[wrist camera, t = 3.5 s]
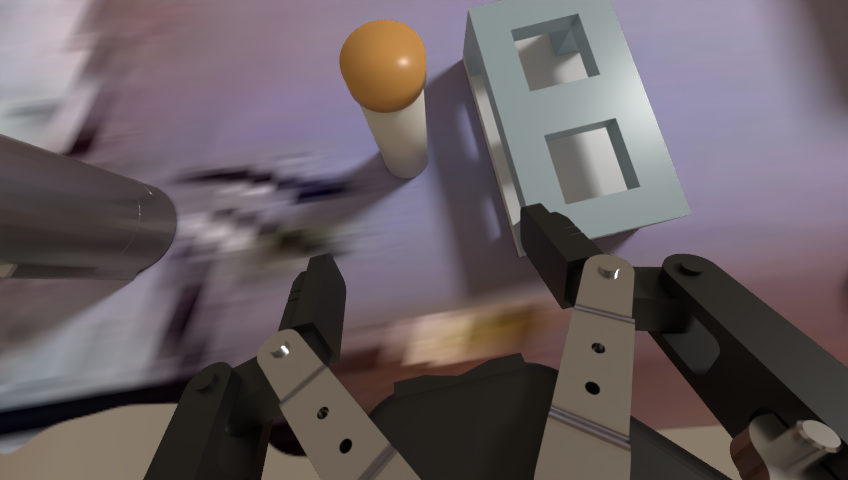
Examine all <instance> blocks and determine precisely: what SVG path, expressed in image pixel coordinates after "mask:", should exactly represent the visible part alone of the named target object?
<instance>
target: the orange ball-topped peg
mask: <svg viewBox="0 0 848 480" xmlns="http://www.w3.org/2000/svg"><path fill="white" fill-rule="evenodd" d="M340 69H341V73H342V75H343V78H344V80H345V82H346V84H347V86H348V89H349V91H350V93H351V95H352V96H353V98H354V99H355V100H356V101H357V102H358V103H359V104H360V106H361V108H362V111H363V113H364V115H365V118H366V120H367V122H368V125H369V127H370V129H371V132H372V134H373V136H374V139H375V141H376V143H377V146H378V148H379V150H380V152H381V155H382V157H383V159H384V162H385V164H386V166H387V168H388V170H389V171H390V172H391V173H392V174H393V175H394V176H396V177H399V178H403V179H409V178H413V177H416V176H418V175H419V174H421V173H422V172H423V170H424V169H425V168H426V166H427V163H428V145H427V131H426V117H425V102H424V86H425V83H426V54H425V48H424V45H423V43H422V40H421V39H420V37H419V36H418V35H417V33H416V32H415V31H414V30H412V29H411V28H410V27H408V26H407V25H405V24H403V23H400V22H397V21H392V20H377V21H373V22H369V23H367V24H364V25H362V26H361V27H359V28H358V29H356V30H355V31H354V32H353V33H351V35H350V36H349V37H348V38H347V40H346V41H345V43H344V45H343V47H342V50H341V53H340Z"/></svg>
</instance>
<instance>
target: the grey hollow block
mask: <svg viewBox="0 0 848 480" xmlns="http://www.w3.org/2000/svg"><path fill="white" fill-rule="evenodd" d="M462 59H463V62H464V66H465V70H466V73H467V77H468V80H469V84H470V87H471V91H472V94H473V98H474V101H475V105H476V108H477V112H478V115H479V119H480V122H481V126H482V129H483V133H484V136H485V140H486V143H487V147H488V150H489V154H490V157H491V161H492V164H493V168H494V171H495V175H496V178H497V182H498V185H499V189H500V192H501V196H502V199H503V203H504V206H505V210H506V214H507V217H508V221H509V224H510V228H511V231H512V235H513V238H514V242H515V245H516V249H517V252H518V256H519V257H522V256H526V253H525V251H524V249H523V247H522V244H521V239H520V209H521V207H524V206H528V205H532V204H537V203H541V204H543V206H544V207H545V208H546V209H547V210H548V211H549V212H550V213H551V212H555V211H556V212H558V213H560V214H562V215H564V216H567V217H568V218H569V219H570V220H571V221H572V222H573V223H574V224H575V226H577V227H578V228H579V229H580V230H581V232H583V233H584V234H585V235H586V236H587V237H588V238H589V239H590V240H593V239H597V238H601V237H606V236H610V235H614V234H618V233H622V232H627V231H631V230H635V229H639V228H643V227H647V226H650V225H654V224H658V223H661V222H665V221H669V220H672V219H676V218H680V217H683V216H687V215H690V214H691V211H690V208H689V206H688V203H687V200H686V198H685V195H684V193H683V190H682V187H681V185H680V182H679V179H678V177H677V174H676V172H675V169H674V166H673V164H672V161H671V158H670V156H669V153H668V150H667V148H666V145H665V143H664V140H663V137H662V135H661V132H660V129H659V127H658V124H657V121H656V119H655V116H654V114H653V111H652V108H651V106H650V103H649V100H648V98H647V95H646V93H645V90H644V87H643V85H642V82H641V79H640V77H639V74H638V71H637V69H636V66H635V64H634V61H633V58H632V56H631V53H630V50H629V48H628V45H627V42H626V40H625V37H624V35H623V32H622V29H621V27H620V24H619V21H618V19H617V16H616V14H615V11H614V8H613V6H612V3H611V0H502V1H498V2H494V3H490V4H486V5H482V6H478V7H474V8H469V9H468V14H467V23H466V32H465V40H464V49H463V58H462Z"/></svg>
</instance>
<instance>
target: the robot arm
mask: <svg viewBox="0 0 848 480" xmlns="http://www.w3.org/2000/svg"><path fill="white" fill-rule="evenodd" d="M175 230H176V213H175V209H174V206H173V204H172V202H171V201H170V199H169V198H168V197H167V196H166V194H165V193H163V192H162V191H161V190H159V189H158V188H155V187H153V186H150V185H147V184H144V183H142V182H140V181H137V180H134V179H131V178H127V177H124V176H121V175H118V174H115V173H113V172H110V171H107V170H104V169H101V168H98V167H95V166H92V165H89V164H86V163H84V162H81V161H78V160H75V159H72V158H69V157H66V156H63V155H60V154H57V153H54V152H51V151H49V150H46V149H43V148H40V147H37V146H34V145H31V144H28V143H25V142H22V141H19V140H16V139H14V138H11V137H8V136H5V135H2V134H0V278H16V279H96V280H133V279H134V278H135V276H136V274H137V273H138V272H139V271H140V270H142V269H144V268H146V267H148V266H150V265H152V264H153V263H154V262H156V261H157V260H158V259H160V257H161V256H162V255H163V254H164V253H165V252H166V251H167V249H168V247H169V246H170V244H171V242H172V240H173V237H174V235H175ZM520 239H521V244H522V247H523V249H524V251H525V253H526V255H527V256H528V258H529V259H530V261H531V262H532V264H533V265H534V267H535V268H536V270H537V271H538V273H539V274H540V276H541V278H542V279H543V281H544V282H545V284H546V285H547V287H548V288H549V290H550V291H551V293H552V294H553V296H554V297H555V299H556V301H557V302H558V304H559V305H560V307H561V308H562V309H566V308H571V307H573V313H572V317H571V321H570V326H569V330H568V334H567V339H566V343H565V347H564V352H563V356H562V360H561V365H560V369H559V371H558V370H556V369H554V368H551V367H548V366H545V365H541V364H537V363H528V362H524V359H523V357H522V355H521V353H517V354H513V355H509V356H504V357H500V358H496V359H492V360H488V361H487V362H485V363H483V364H481V365H479V366H477V367H475V368H473V369H471V370H469V371H468V372H466V373H464V374H462V375H459V376H434V375H424V376H420V377H415V378H411V379H407V380H403V381H399V382H394V394H392V395H390V396H389V397H387V398H386V399H384V400H383V401H382V402H381V403H379V404H378V405H377V406H376V407H375V408H374V409H373V410H372V411H371V412H370V414H369V415H368V416H367V415H366V413H365V412H364V411H363V410H362V409H361V407H360V406H359V405H358V404H357V403H356V401H355V400H354V399H353V398H352V397H351V395H350V394H349V393H348V392H347V390H346V389H345V388H344V387H343V386H342V384H341V383H340V382H339V381H338V380H337V378H336V377H335V376H334V375H333V374H332V372H331V371H330V370H329V369H328V366H329V364H331V363H335V362H339V360H340V350H341V340H342V330H343V321H344V311H345V301H346V285H345V282H344V279H343V277H342V275H341V273H340V271H339V269H338V267H337V265H336V263H335V261H334V259H333V257H332V255H331V254H330V253H327V254H323V255H319V256H315V257H311V258H310V260H309V264H308V267H307V271H304V272H301V273H300V274H299V275H298V277H297V278H296V279H295V281H294V282H293V285H292V288H291V291H290V294H289V297H288V303H287V304H286V307H285V310H284V314H283V317H282V320H281V323H280V326H279V330H278V332H277V333H275V334H273V335H272V336H270V337H269V338H268V339H267V340H266V341H265V342H264V343H263V344H262V346H261V347H260V349H259V351H258V354H257V356H256V357H254V358H252V359H250V360H248V361H246V362H244V363H243V364H241V365H239V366H237V367H235V368H232V367H231V366H230V365H228V364H227V363H225V362H218V363H214V364H211V365H209V366H207V367H206V368H204V369H203V370H201V371H200V372H199V373H197V374H196V375H195V376H194V377H193V378H192V380H191V381H190V382H189V383H188V385H187V386H186V388H185V390H184V392H183V395H182V397H181V399H180V401H179V403H178V405H177V408H176V410H175V412H174V415H173V416H172V419H171V421H170V423H169V425H168V428H167V429H166V432H165V434H164V436H163V438H162V440H161V442H160V445H159V447H158V449H157V451H156V453H155V455H154V458H153V460H152V462H151V464H150V466H149V468H148V471H147V473H146V475H145V477H144V479H143V480H261V477H262V472H263V466H264V462H265V457H266V452H267V447H268V442H269V437H270V432H271V427H272V423H273V419H274V418H275V417H277V416H279V415H280V414H282V413H283V414H284V416H285V418H286V419H287V421H288V423H289V425H290V426H291V428H292V430H293V432H294V433H295V435H296V437H297V439H298V440H299V442H300V444H301V446H302V447H303V449H304V451H305V453H306V454H307V456H308V458H309V460H310V461H311V463H312V465H313V467H314V468H315V470H316V472H317V474H318V475H319V477H320V479H321V480H732V479H730V478H729V477H727V476H726V475H724V474H723V473H721V472H720V471H718V470H716V469H715V468H713V467H711V466H710V465H708V464H707V463H705V462H704V461H702V460H701V459H699V458H697V457H696V456H694V455H692V454H691V453H689V452H688V451H686V450H685V449H683V448H682V447H680V446H678V445H677V444H675V443H674V442H672V441H671V440H669V439H667V438H666V437H664V436H663V435H661V434H659V433H658V432H656V431H655V430H653V429H652V428H650V427H648V426H647V425H645V424H644V423H642V422H640V421H639V420H637V419H636V418H634V417H633V416H631V415H630V409H631V391H632V373H633V355H634V336H635V330H638V331H648V333H649V334H650V335H651V336H652V338H653V339H654V340H655V341H656V343H657V344H658V345H659V346H660V348H661V349H662V350H663V351H664V353H665V354H666V355H667V356H668V358H669V359H670V360H671V361H672V363H673V364H674V365H675V367H676V368H677V369H678V370H679V372H680V373H681V374H682V375H683V377H684V378H685V379H686V380H687V382H688V383H689V384H690V385H691V387H692V388H693V389H694V390H695V392H696V393H697V394H698V395H699V397H700V398H701V399H702V401H703V402H704V403H705V404H706V406H707V407H708V408H709V409H710V411H711V412H712V413H713V414H714V416H715V417H716V418H717V419H718V421H719V422H720V423H721V424H722V426H723V427H724V428H725V429H726V431H727V432H728V433H729V434H730V436H731V437H732V438H733V440H732V442H731V444H730V454H731V458H732V460H733V462H734V464H735V466H736V468H737V469H738V471H739V474H740V477H741V479H742V480H848V368H847V367H846V366H845V365H844V364H842V363H841V362H840V361H839V360H837V359H836V358H835V357H833V356H832V355H831V354H830V353H828V352H827V351H826V350H824V349H823V348H822V347H821V346H819V345H818V344H817V343H815V342H814V341H813V340H812V339H810V338H809V337H808V336H807V335H805V334H804V333H803V332H801V331H800V330H799V329H798V328H796V327H795V326H794V325H792V324H791V323H790V322H789V321H787V320H786V319H785V318H783V317H782V316H781V315H780V314H778V313H777V312H776V311H774V310H773V309H772V308H771V307H769V306H768V305H767V304H766V303H764V302H763V301H762V300H760V299H759V298H758V297H757V296H755V295H754V294H753V293H751V292H750V291H749V290H748V289H746V288H745V287H744V286H742V285H741V284H740V283H739V282H737V281H736V280H735V279H733V278H732V277H731V276H730V275H728V274H727V273H726V272H725V271H723V270H722V269H721V268H719V267H718V266H717V265H716V264H714V263H713V262H711V261H709V260H707V259H705V258H702V257H699V256H695V255H690V254H675V255H671V256H669V257H667V258H666V259H665V260H664V262H663V264H662V267H632V265H631V264H630V263H628V262H627V261H626V260H624V259H622V258H620V257H617V256H613V255H606V254H604V253H603V252H602V251H601V250H600V249H599V248H598V247H597V246H596V245H595V244H594V243H593V242H592V241H591V240H590V239H589V238H588V237H587V236H586V235H585V234H584V233H583V232H581V230H580V229H579V228H578V227H577V226H575V224H574V223H573V222H572V221H571V220H570V219H569V218H568V217H567V216H564V215H562V214H560V213H558V212H556V211H555V212H551V213H550V212H549V211H548V210H547V209H546V208H545V207H544V206H543V204H541V203H537V204H532V205H528V206H524V207H521V209H520Z"/></svg>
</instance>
